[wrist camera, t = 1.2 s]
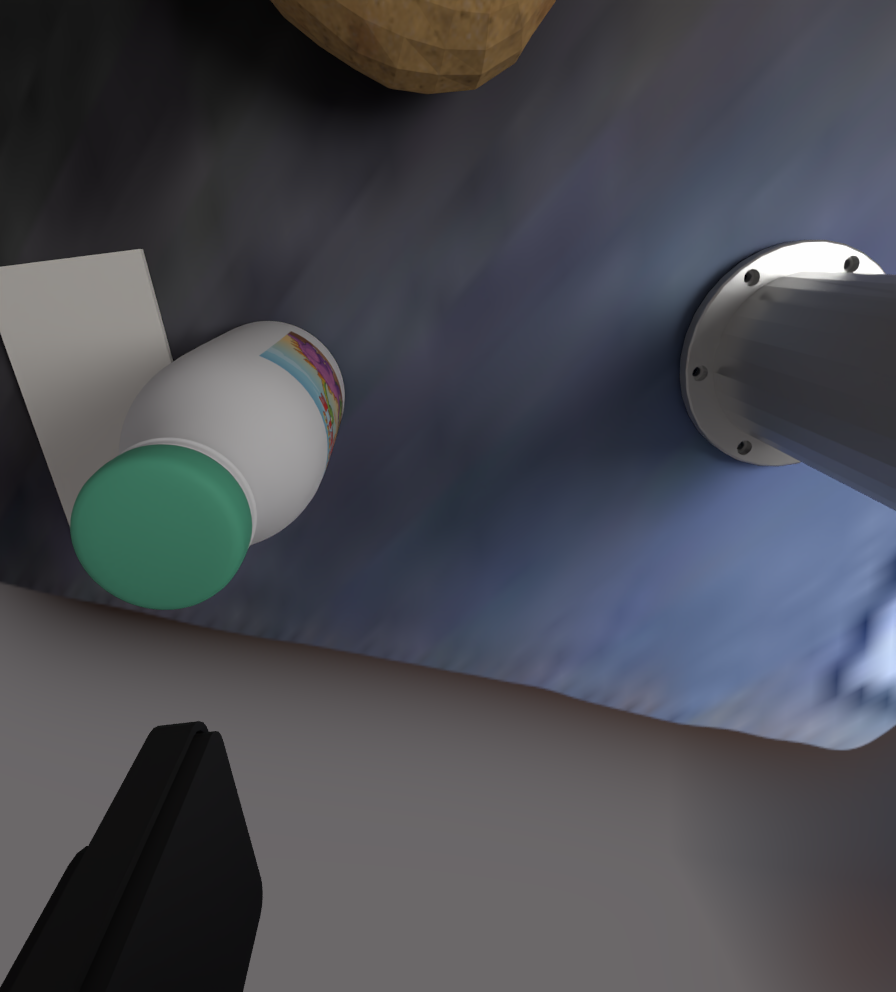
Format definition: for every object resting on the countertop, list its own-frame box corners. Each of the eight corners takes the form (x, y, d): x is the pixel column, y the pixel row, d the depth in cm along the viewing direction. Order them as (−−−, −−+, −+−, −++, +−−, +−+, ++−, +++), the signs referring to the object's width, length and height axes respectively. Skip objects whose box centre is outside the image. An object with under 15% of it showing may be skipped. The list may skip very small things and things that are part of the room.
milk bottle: (205, 453, 37) (19, 658, 18) (201, 312, 34) (-21, 386, 16) (343, 462, 38) (298, 667, 19) (349, 325, 35) (304, 411, 17)
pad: (142, 249, 33) (140, 249, 33) (216, 520, 39) (214, 522, 38) (-18, 269, 33) (-23, 269, 33) (78, 539, 38) (75, 542, 38)
